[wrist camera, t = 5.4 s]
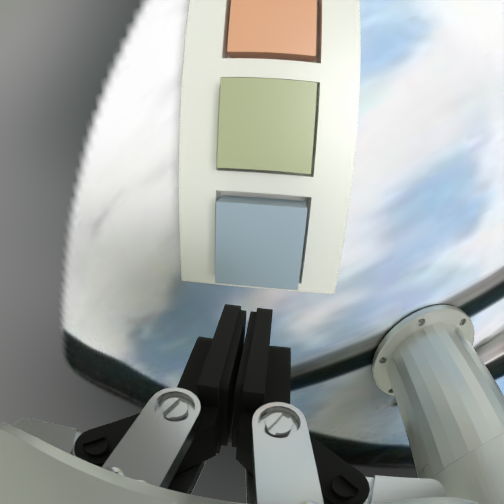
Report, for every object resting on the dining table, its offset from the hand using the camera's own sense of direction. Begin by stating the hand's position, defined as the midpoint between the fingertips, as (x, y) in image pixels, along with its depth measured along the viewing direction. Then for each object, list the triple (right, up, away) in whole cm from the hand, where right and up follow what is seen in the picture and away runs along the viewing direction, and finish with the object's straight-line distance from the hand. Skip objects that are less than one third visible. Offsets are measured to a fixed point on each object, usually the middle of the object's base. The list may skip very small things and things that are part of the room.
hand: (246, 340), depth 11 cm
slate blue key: (+1, +4, +11) cm, 12 cm away
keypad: (+1, +13, +11) cm, 17 cm away
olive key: (+1, +12, +8) cm, 14 cm away
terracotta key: (+2, +20, +7) cm, 21 cm away
